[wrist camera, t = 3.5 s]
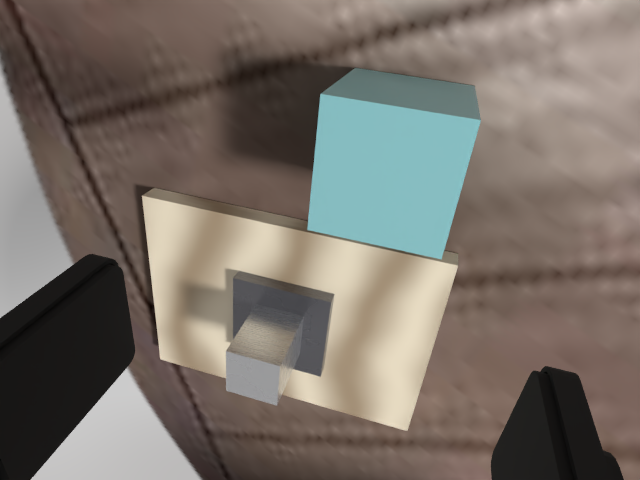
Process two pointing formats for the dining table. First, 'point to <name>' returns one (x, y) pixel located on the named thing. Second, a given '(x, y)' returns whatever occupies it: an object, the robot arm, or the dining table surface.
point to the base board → (305, 270)
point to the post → (275, 335)
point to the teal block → (392, 159)
